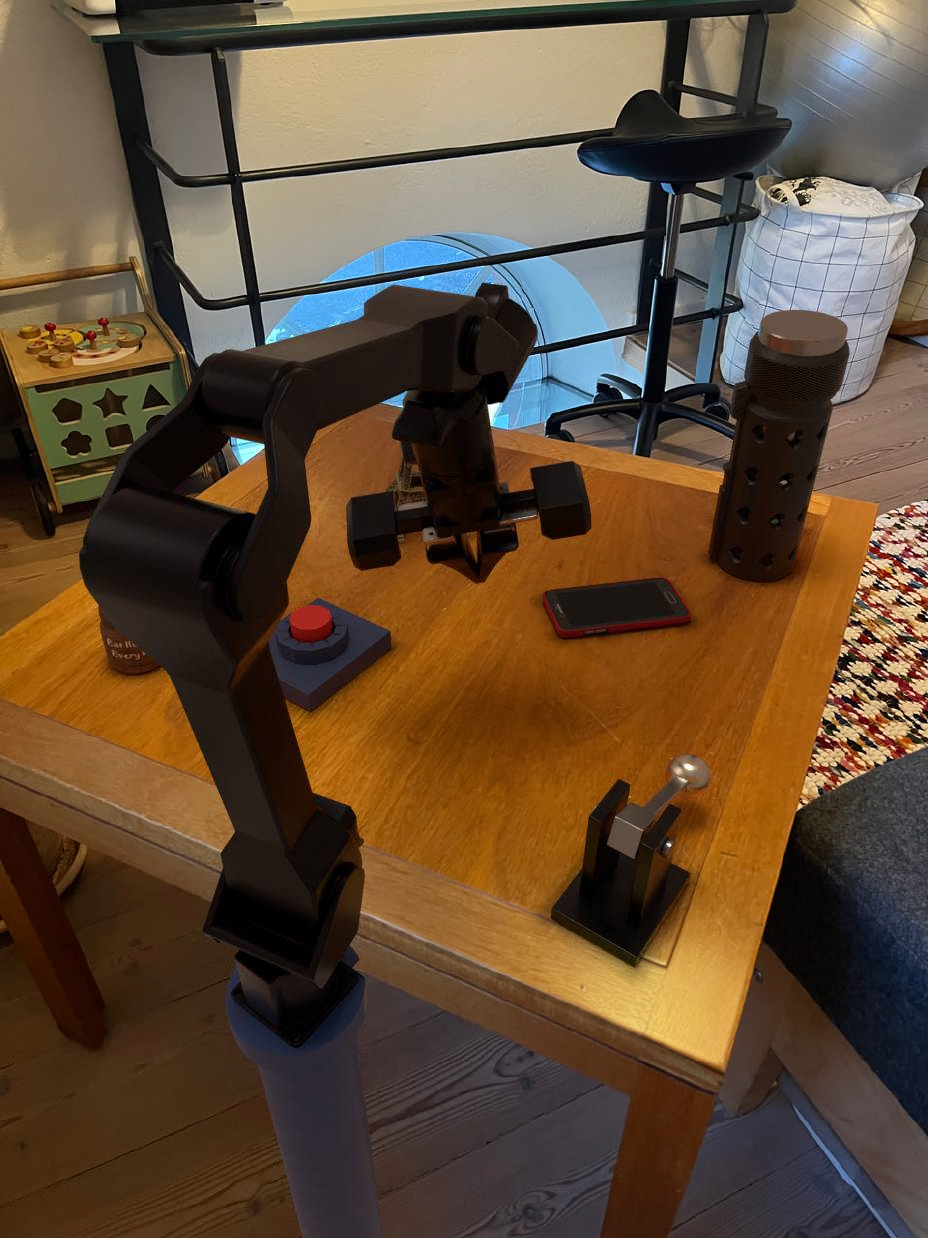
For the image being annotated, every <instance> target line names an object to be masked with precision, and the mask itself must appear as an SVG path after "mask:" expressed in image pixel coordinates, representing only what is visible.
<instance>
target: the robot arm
mask: <svg viewBox="0 0 928 1238" xmlns="http://www.w3.org/2000/svg"><path fill="white" fill-rule="evenodd" d="M538 336H539V329H538V325H537V323H535V322H534V319H533V317H532V316H531V314H530V313H529V312H528V311H527V309H525V308H524V307H523V306H522V305H521V304H519V303H518V302H517V301H515V300H513V299H511V298H510V295H509V286H508V285H504V284H499V283H490V282H484V281H483V282H481V283H480V285H479V286H478V289H477V290H476V292H475V294H474V295H467V294H462V293H454V292H449V291H442V290H441V291H440V290H434V289H427V288H421V287H415V286H414V287H413V286H407V285H401V284H391V285H388V286H387V287H386V288H384V289H382V290H380V291H379V292H378V293H375V294H374V295H373V296H371V297H369V298H368V299H366V301H365V302H363V315H362V316H360V317H358V318H357V319H354V320H350V321H346V322H343V323H339V324H336V325H332V326H328V327H324V328H320V329H317V330H313V331H310V332H307V333H306V332H305V333H302V334H299V335H294V336H291V337H288V338H284V339H281V340H277V341H273V342H271V343H270V342H269V343H266V344H263V345H259V346H255V347H251V348H248V349H244V350H238V349H233V348H230V349H225V350H223V351H221V352H213V353H211V354H210V355H208V356H206V357H205V358H204V359H203V361H202V362H201V363H200V364H199V366H198V368H197V369H196V371H195V374H194V376H193V378H192V380H191V381H190V384H189V386H188V388H187V390H186V392H185V394H184V396H183V399H182V400H181V401H180V402H179V403H178V404H177V405H175V406H174V407H173V408H172V409H170V411H169V412H167V413H166V414H165V415H164V416H163V417H162V418H161V419H159V420H158V421H157V422H156V423H154V424H153V425H152V426H151V427H150V428H149V429H147V430H146V431H145V432H144V433H142V435H140V437H138V438H137V439H136V440H135V441H133V442H132V443H131V444H130V445H129V446H127V448H126V449H125V450H124V451H123V453H122V454H121V457H120V459H119V461H118V463H117V465H116V467H115V469H114V471H113V472H112V475H111V476H110V479H109V481H108V483H107V485H106V487H105V489H104V491H103V493H102V495H101V497H100V499H99V501H98V503H97V505H96V507H95V509H94V511H93V513H92V515H91V517H90V519H89V522H88V523H87V527H86V529H85V532H84V534H83V538H82V547H81V548H80V549H79V551H78V562H79V563H78V565H79V570H80V574H81V577H82V582H83V584H84V586H85V588H86V590H87V592H88V593H89V595H90V596H91V597H92V598H93V600H94V601H95V603H96V604H97V606H98V605H99V607H100V608H101V609H102V611H103V612H104V613H105V615H106V616H107V617H108V619H109V620H110V621H111V623H112V624H113V625H114V627H115V628H116V629H117V630H118V631H119V632H120V633H121V634H122V635H123V636H125V637H126V638H127V639H128V640H130V641H131V642H132V643H133V644H134V645H136V646H137V647H138V648H139V649H140V650H142V651H143V652H144V653H145V654H147V655H148V656H149V657H150V658H151V659H153V660H154V661H155V662H156V663H157V664H159V666H160V667H161V668H162V669H163V670H164V671H165V672H166V673H167V675H168V676H169V678H170V680H171V682H172V686H173V687H174V689H175V692H176V694H177V696H178V699H179V701H180V704H181V706H182V709H183V711H184V714H185V716H186V718H187V720H188V723H189V725H190V728H191V730H192V732H193V735H194V738H195V740H196V743H197V744H198V747H199V749H200V751H201V754H202V756H203V758H204V761H205V764H206V766H207V768H208V770H209V773H210V775H211V777H212V779H213V782H214V784H215V787H216V789H217V792H218V794H219V795H220V798H221V802H222V803H223V806H224V808H225V810H226V813H227V815H228V817H229V820H230V822H231V825H232V827H233V831H234V832H233V834H232V835H231V836H230V838H229V840H228V841H227V843H226V844H225V846H224V847H223V849H222V850H221V851H220V859H221V865H222V870H221V872H220V875H219V879H218V882H217V884H216V887H215V890H214V894H213V897H212V899H211V902H210V905H209V907H208V908H209V909H208V911H207V914H206V917H205V921H204V924H203V925H202V931H201V932H202V934H203V935H205V936H206V937H207V938H209V939H210V940H211V941H213V942H215V943H217V944H220V943H221V944H223V945H225V946H226V947H229V948H232V949H234V950H237V952H236V953H235V954H234V962H235V967H236V966H237V970H238V973H239V977H240V982H239V983H238V984H237V985H236V986H235V987H234V988H233V990H232V991H231V997H232V1000H233V1001H234V1002H235V1003H236V1004H238V1005H239V1006H240V1007H241V1008H243V1009H244V1010H245V1011H247V1012H248V1013H249V1014H250V1015H252V1016H253V1017H254V1018H255V1019H257V1020H258V1021H259V1022H260V1023H262V1024H263V1025H264V1026H265V1027H267V1028H268V1029H269V1030H271V1031H272V1032H273V1033H274V1034H276V1035H277V1036H278V1037H279V1038H281V1039H282V1040H283V1041H284V1042H286V1043H287V1044H288V1045H290V1046H291V1047H292V1048H299V1047H301V1046H302V1045H303V1044H304V1043H305V1042H306V1040H307V1039H308V1038H309V1037H310V1036H311V1035H312V1034H313V1033H314V1031H315V1030H316V1029H317V1028H318V1027H319V1026H320V1025H321V1024H322V1022H323V1021H324V1020H325V1019H326V1018H327V1017H328V1016H329V1015H330V1013H331V1012H332V1011H333V1010H334V1009H335V1008H336V1007H337V1006H338V1004H339V1003H340V1002H341V1001H342V1000H343V999H344V998H345V997H346V995H347V994H348V993H349V992H350V991H351V990H352V989H353V988H354V986H355V985H356V984H357V983H358V981H359V975H358V973H359V972H358V971H357V970H356V969H354V967H353V968H351V967H350V966H348V965H347V964H345V963H344V962H343V961H341V959H342V958H343V957H344V953H345V952H346V950H347V948H348V947H349V945H350V946H351V943H352V942H353V941H354V938H355V937H356V936H357V934H358V932H359V927H360V919H361V913H362V905H363V896H364V888H365V883H366V882H365V880H366V872H365V869H364V867H363V855H362V853H361V850H360V848H361V847H362V846H363V845H364V843H365V839H364V838H362V837H361V836H360V833H359V829H358V818H357V815H356V813H355V811H354V809H353V808H352V806H351V805H349V804H346V803H343V802H341V801H338V800H335V799H332V798H330V797H328V796H324V795H321V794H318V793H315V792H313V789H312V786H311V783H310V779H309V776H308V772H307V769H306V766H305V762H304V758H303V755H302V752H301V749H300V745H299V743H298V742H299V741H298V740H297V735H296V732H295V729H294V726H293V722H292V719H291V716H290V711H289V709H288V705H287V702H286V698H284V695H283V692H282V688H281V685H280V682H279V678H278V675H277V672H276V668H275V665H274V662H273V658H272V655H271V652H270V646H269V640H270V638H271V636H272V634H273V632H274V631H275V629H276V627H277V625H278V624H279V622H280V620H282V619H283V617H284V615H285V613H286V611H287V609H288V608H289V605H290V595H289V589H288V579H289V578H290V576H291V573H292V570H293V568H294V566H295V563H296V561H297V559H298V556H299V554H300V552H301V549H302V547H303V545H304V542H305V540H306V538H307V535H308V533H309V531H310V528H311V524H312V513H311V512H312V510H311V504H310V494H309V486H308V477H307V468H306V458H307V455H308V453H309V451H310V449H311V446H312V443H313V442H314V439H315V437H316V435H317V433H318V431H321V430H323V429H325V428H327V427H329V426H332V425H334V424H337V423H338V422H341V421H343V420H346V419H347V418H350V417H352V416H355V415H357V414H359V413H361V412H363V411H365V410H368V409H370V408H373V407H374V406H377V405H379V404H382V403H383V402H387V401H388V400H391V399H393V398H396V397H397V396H400V395H402V394H404V393H405V395H404V396H403V399H402V410H401V411H400V413H399V414H398V416H397V418H396V419H395V421H394V423H393V427H392V432H391V438H392V440H394V441H398V442H399V443H400V442H401V448H402V452H403V457H404V461H405V463H406V464H409V463H415V462H417V465H416V466H417V470H419V474H420V478H421V482H422V486H423V487H422V488H423V490H424V494H425V498H426V501H420V502H415V503H409V504H403V505H399V506H397V511H396V505H397V503H398V502H397V497H396V494H395V490H393V491H387V492H384V491H382V492H376V493H370V494H363V495H357V496H352V497H350V499H349V501H348V502H347V504H346V505H345V511H346V513H345V515H346V516H345V518H346V543H347V549H348V554H349V557H350V560H351V562H352V565H353V567H354V568H356V569H357V570H359V571H361V572H363V571H369V570H375V569H381V568H387V567H394V566H395V565H396V564H397V563H398V562H399V561H400V560H401V559H402V551H401V547H400V544H399V541H398V535H401V534H403V535H406V534H407V535H408V534H412V533H419V532H420V534H421V538H422V541H423V543H424V545H425V557H426V560H427V562H428V563H430V565H431V564H432V565H438V564H441V565H444V566H446V567H448V568H449V569H452V570H454V571H456V572H458V573H459V574H461V575H462V576H464V577H465V578H466V579H468V580H469V581H471V582H472V583H473V584H475V585H478V584H484V583H486V581H487V579H488V578H489V576H490V575H491V573H492V571H493V570H494V569H495V566H496V565H497V564H498V563H499V562H500V561H501V560H502V559H503V558H504V557H505V555H507V554H508V553H513V552H516V551H517V550H518V549H519V547H520V542H519V535H518V530H517V525H516V523H522V522H528V521H535V520H538V519H539V525H540V532H541V536H543V537H545V538H548V539H549V540H552V541H554V540H561V539H567V538H573V537H578V536H579V537H580V536H584V535H585V536H586V535H587V534H588V533H589V531H590V530H591V529H592V527H593V526H592V510H591V504H590V499H589V494H588V492H587V487H586V482H585V478H584V475H583V470H582V467H581V465H579V464H578V463H577V462H575V461H574V460H568V461H563V462H556V463H549V464H544V465H538V466H532V467H529V473H530V480H531V483H532V487H533V488H530V489H524V490H523V489H522V490H517V491H510V487H509V486H510V485H509V482H508V481H500V477H499V476H500V475H499V470H498V464H497V463H498V462H497V456H496V451H495V450H496V449H495V444H494V440H493V439H494V438H493V437H494V436H493V431H492V424H491V417H490V411H489V406H490V405H495V404H498V403H499V404H503V403H504V402H505V401H506V399H507V398H508V395H509V394H510V392H511V391H512V388H513V386H514V384H515V383H516V381H517V379H518V377H519V375H520V374H521V372H522V370H523V369H524V366H525V365H526V363H527V361H528V360H529V358H530V355H531V353H532V352H533V351H534V348H535V346H536V344H537V341H538ZM231 438H234V439H238V440H242V441H246V442H247V441H248V442H251V443H255V444H261V445H263V446H264V456H265V467H266V477H267V490H266V491H265V493H264V496H263V498H262V500H261V503H260V505H259V507H258V509H257V511H256V513H253V512H250V511H246V510H242V509H238V508H234V507H230V506H226V505H222V504H218V503H214V502H212V501H211V502H210V501H206V500H202V499H198V498H194V497H190V496H187V495H182V494H178V493H174V491H176V489H178V488H179V487H180V486H181V485H182V484H183V483H185V482H186V481H187V480H188V479H189V478H190V477H191V476H193V475H194V474H195V473H196V472H198V471H199V470H200V468H202V467H203V466H204V465H205V464H207V463H208V462H209V461H210V460H211V459H212V458H214V457H215V456H216V455H217V454H218V453H220V452H221V450H223V449H224V448H225V447H226V445H227V444H228V443H229V441H230V439H231ZM475 532H476V556H475V553H474V551H473V548H472V545H471V543H470V540H469V538H468V537H467V534H466V533H468V534H469V533H475ZM351 976H353V977H355V978H354V979H352V980H350V979H349V977H351ZM239 992H241V993H242V994H241V995H240V996H236V994H237V993H239ZM296 1037H298V1038H300V1039H299V1040H298V1041H296V1042H295V1041H293V1039H294V1038H296Z"/></svg>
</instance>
